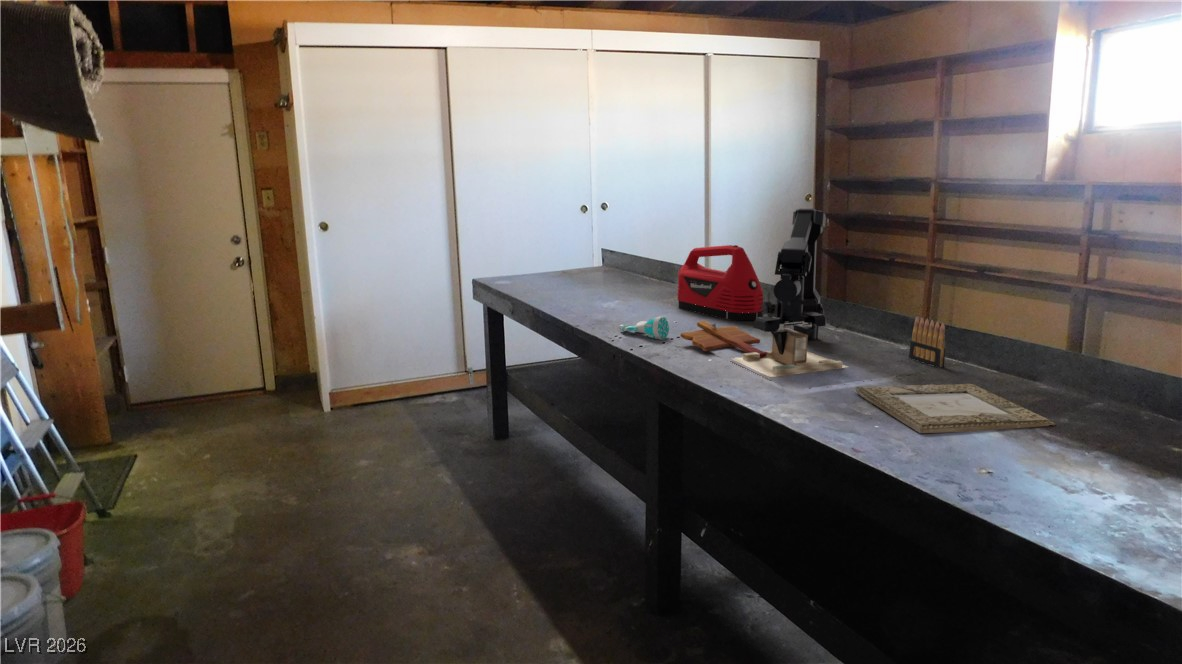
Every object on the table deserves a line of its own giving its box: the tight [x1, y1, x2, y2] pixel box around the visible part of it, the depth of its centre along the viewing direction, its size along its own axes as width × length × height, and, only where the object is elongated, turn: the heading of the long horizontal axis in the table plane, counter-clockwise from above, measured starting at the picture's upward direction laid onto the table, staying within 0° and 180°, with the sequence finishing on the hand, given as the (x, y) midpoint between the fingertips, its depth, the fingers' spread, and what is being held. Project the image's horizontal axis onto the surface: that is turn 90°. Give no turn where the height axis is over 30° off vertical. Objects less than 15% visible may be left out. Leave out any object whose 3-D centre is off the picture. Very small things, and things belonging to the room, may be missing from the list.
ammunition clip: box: [908, 316, 946, 368], centre depth 195 cm, size 11×2×12 cm, turn 21°
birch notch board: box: [729, 349, 849, 382], centre depth 194 cm, size 24×19×3 cm
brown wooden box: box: [771, 327, 809, 366], centre depth 193 cm, size 4×9×8 cm, turn 20°
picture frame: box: [854, 383, 1056, 434], centre depth 160 cm, size 27×30×3 cm
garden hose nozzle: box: [619, 316, 670, 341], centre depth 234 cm, size 7×18×20 cm
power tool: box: [677, 244, 765, 321], centre depth 265 cm, size 16×40×25 cm, turn 33°
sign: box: [679, 320, 766, 358], centre depth 213 cm, size 20×6×30 cm
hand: (788, 353), depth 194 cm, fingers closed on brown wooden box, 4 cm apart
